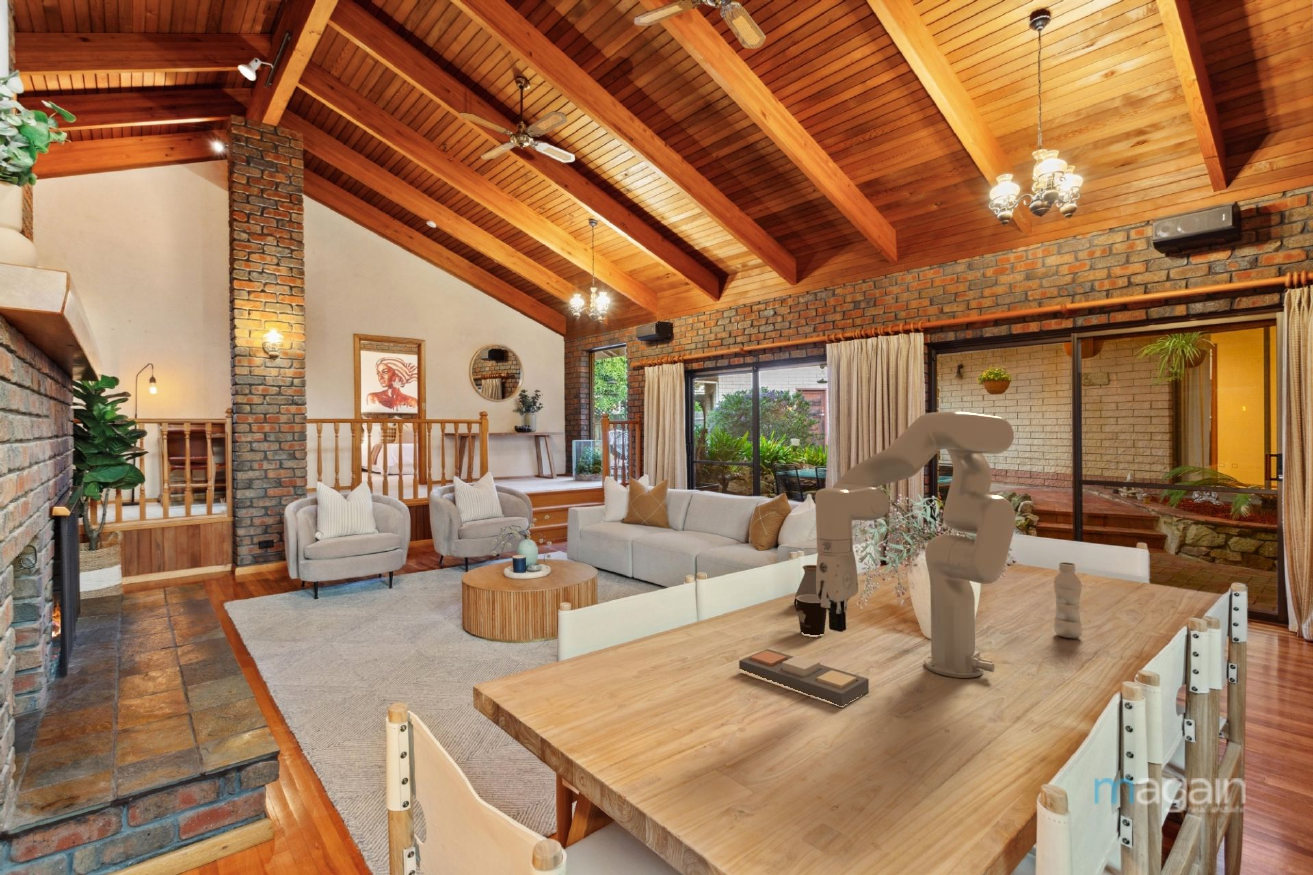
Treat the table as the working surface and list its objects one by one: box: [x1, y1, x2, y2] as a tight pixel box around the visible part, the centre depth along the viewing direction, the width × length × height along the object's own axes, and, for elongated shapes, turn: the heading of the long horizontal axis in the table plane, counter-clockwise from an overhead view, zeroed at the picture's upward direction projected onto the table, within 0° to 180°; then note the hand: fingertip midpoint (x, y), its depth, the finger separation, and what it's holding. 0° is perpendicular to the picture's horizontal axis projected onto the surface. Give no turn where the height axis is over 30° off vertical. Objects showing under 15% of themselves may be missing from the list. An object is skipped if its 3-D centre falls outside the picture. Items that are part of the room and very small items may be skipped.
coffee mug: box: [793, 595, 828, 635], centre depth 176 cm, size 12×9×10 cm
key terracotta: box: [751, 651, 787, 667], centre depth 148 cm, size 6×6×2 cm
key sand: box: [817, 670, 856, 689], centre depth 135 cm, size 6×6×2 cm
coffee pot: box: [794, 564, 817, 599], centre depth 205 cm, size 21×12×15 cm, turn 119°
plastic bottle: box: [1053, 561, 1083, 639], centre depth 169 cm, size 6×7×20 cm
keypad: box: [738, 648, 870, 706], centre depth 141 cm, size 27×11×3 cm, turn 43°
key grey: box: [782, 655, 821, 677], centre depth 141 cm, size 6×6×2 cm
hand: (837, 629), depth 135 cm, fingers closed
